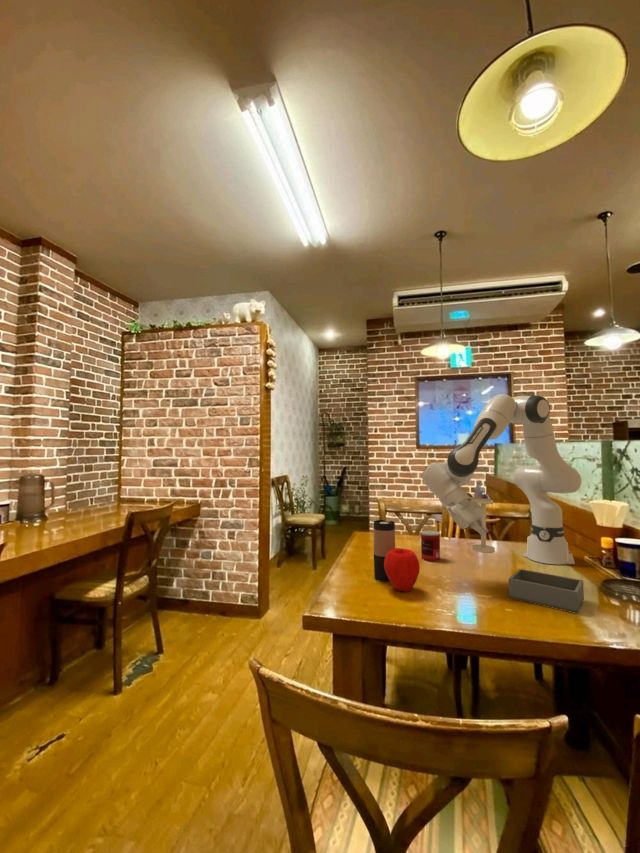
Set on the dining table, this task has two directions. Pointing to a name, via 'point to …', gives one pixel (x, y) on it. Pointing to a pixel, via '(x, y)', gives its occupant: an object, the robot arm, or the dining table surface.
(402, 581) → the apple
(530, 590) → the tray
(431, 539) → the canned food
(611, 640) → the dining table surface
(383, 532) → the travel mug
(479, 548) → the pedestal dish
